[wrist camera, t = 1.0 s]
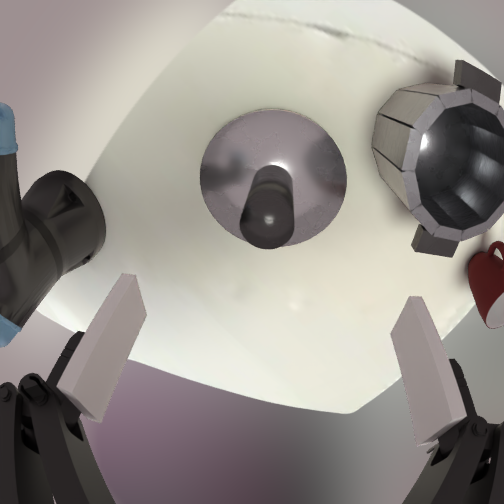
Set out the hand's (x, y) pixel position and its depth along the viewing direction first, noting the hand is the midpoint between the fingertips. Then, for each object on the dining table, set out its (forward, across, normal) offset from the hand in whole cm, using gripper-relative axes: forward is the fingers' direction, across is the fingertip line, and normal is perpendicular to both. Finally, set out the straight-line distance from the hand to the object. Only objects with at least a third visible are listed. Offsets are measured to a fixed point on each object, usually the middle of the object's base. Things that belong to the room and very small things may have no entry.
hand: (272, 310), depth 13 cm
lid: (+20, 0, -1) cm, 21 cm away
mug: (+20, +31, -8) cm, 38 cm away
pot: (+20, +17, +6) cm, 27 cm away
